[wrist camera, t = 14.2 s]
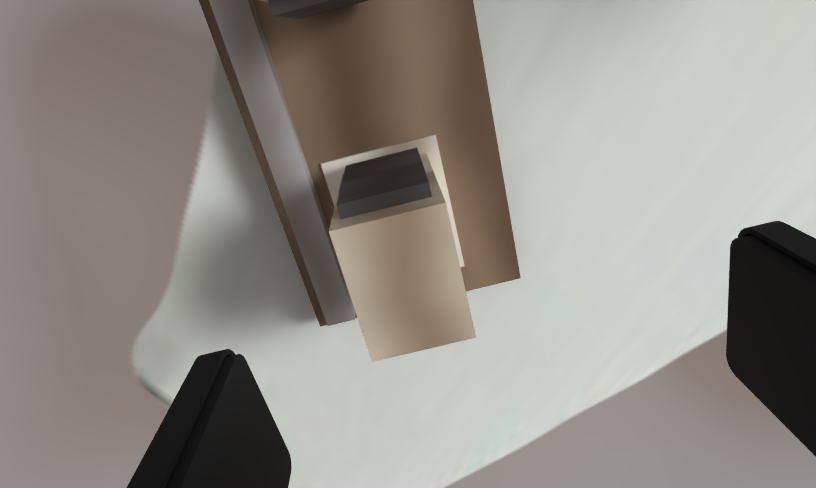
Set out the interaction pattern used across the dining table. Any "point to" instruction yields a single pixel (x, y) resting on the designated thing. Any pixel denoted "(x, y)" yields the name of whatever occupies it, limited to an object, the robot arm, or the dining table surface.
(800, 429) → the robot arm
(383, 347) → the wooden block
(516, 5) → the dining table surface
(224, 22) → the rail board
